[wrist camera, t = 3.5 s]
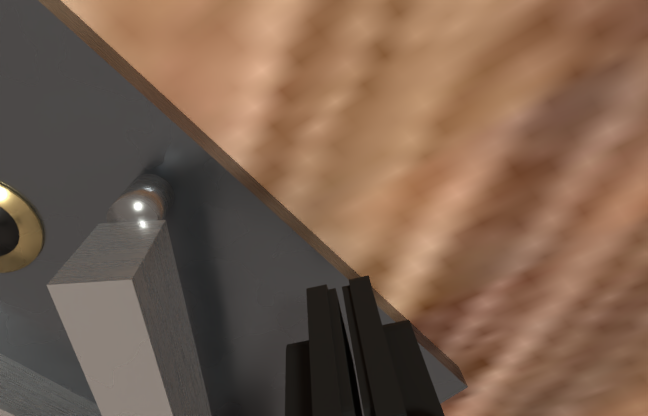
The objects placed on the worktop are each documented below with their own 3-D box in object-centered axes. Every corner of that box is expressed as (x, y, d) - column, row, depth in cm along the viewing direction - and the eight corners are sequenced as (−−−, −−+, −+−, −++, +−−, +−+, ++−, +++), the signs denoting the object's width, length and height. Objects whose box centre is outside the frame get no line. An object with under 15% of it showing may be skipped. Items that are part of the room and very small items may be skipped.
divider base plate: (459, 367, 18) (485, 425, 15) (234, 506, 21) (226, 571, 19) (-27, -80, 10) (-134, -106, 7) (-256, 267, 13) (-379, 328, 11)
